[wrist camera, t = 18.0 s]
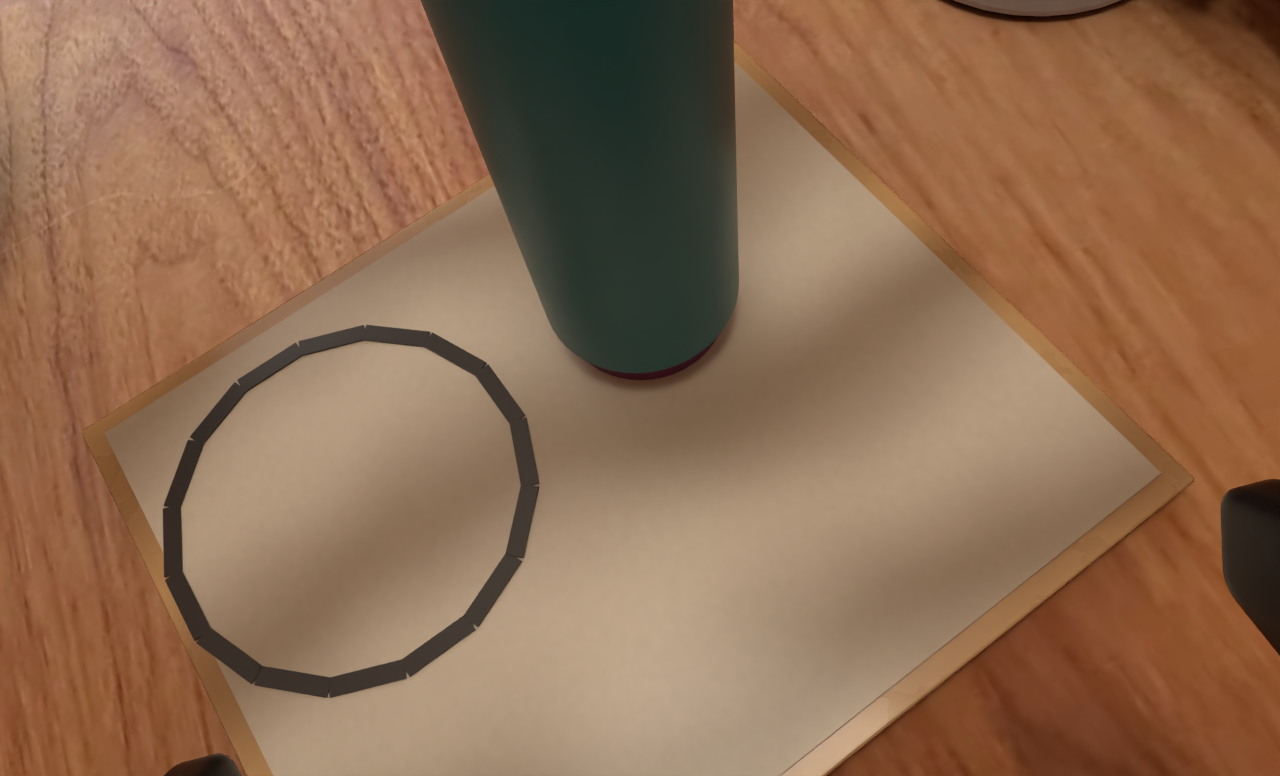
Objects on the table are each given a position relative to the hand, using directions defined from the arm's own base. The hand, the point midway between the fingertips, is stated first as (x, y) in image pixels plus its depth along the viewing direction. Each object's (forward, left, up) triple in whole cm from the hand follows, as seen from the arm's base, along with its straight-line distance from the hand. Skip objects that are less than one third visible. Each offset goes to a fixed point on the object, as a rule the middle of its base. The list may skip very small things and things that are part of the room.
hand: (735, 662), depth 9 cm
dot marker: (+9, -4, -11) cm, 15 cm away
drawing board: (+7, -1, -12) cm, 14 cm away
